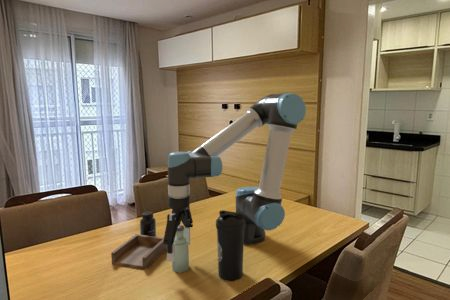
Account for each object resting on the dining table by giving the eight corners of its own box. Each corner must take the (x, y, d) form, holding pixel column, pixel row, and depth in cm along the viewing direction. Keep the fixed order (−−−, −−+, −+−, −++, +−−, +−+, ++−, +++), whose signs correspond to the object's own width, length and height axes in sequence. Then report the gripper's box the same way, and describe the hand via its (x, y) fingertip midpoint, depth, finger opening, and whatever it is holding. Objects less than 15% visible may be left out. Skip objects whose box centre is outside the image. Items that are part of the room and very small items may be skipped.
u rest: (167, 248, 125) (166, 238, 125) (145, 269, 109) (145, 257, 108) (136, 243, 129) (136, 234, 129) (111, 263, 113) (111, 252, 112)
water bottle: (215, 267, 111) (214, 207, 107) (242, 265, 111) (243, 206, 108) (216, 283, 101) (216, 218, 97) (246, 281, 101) (247, 217, 98)
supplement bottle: (152, 242, 130) (151, 216, 129) (137, 241, 132) (136, 215, 130) (158, 235, 137) (157, 210, 135) (144, 234, 138) (143, 209, 137)
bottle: (191, 264, 112) (190, 224, 110) (185, 273, 107) (184, 231, 104) (176, 262, 114) (175, 223, 112) (169, 270, 108) (168, 229, 106)
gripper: (183, 185, 119) (183, 236, 122) (151, 205, 95) (153, 267, 98) (201, 187, 117) (200, 238, 120) (173, 207, 93) (173, 271, 96)
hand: (179, 251), depth 109 cm, fingers open, 13 cm apart
